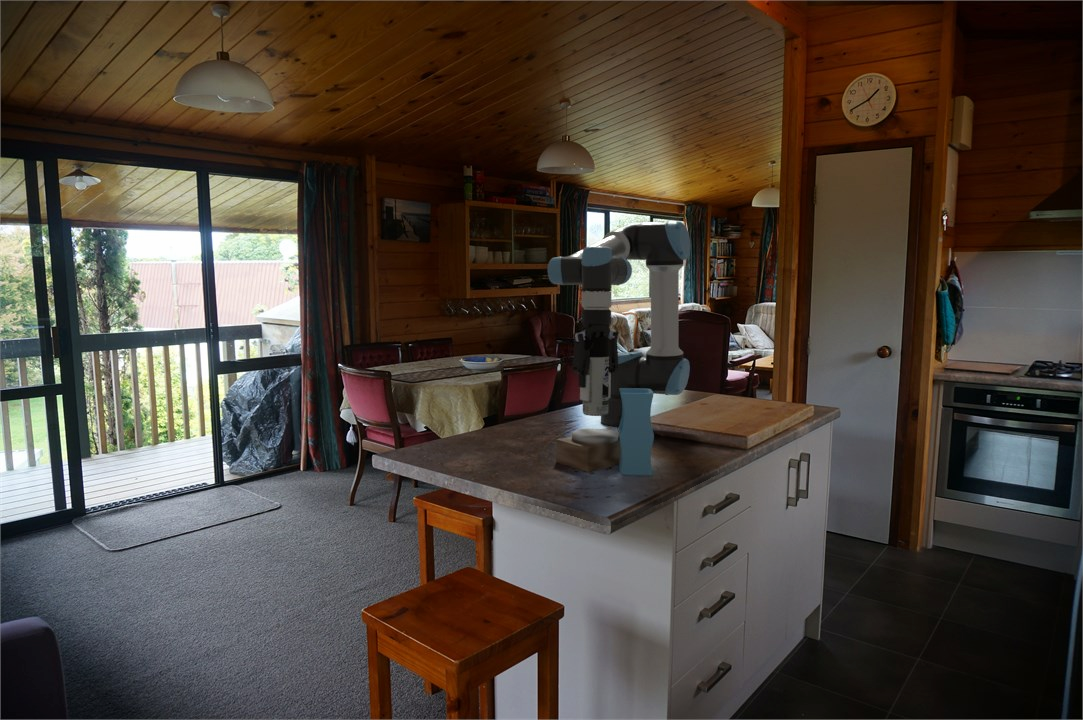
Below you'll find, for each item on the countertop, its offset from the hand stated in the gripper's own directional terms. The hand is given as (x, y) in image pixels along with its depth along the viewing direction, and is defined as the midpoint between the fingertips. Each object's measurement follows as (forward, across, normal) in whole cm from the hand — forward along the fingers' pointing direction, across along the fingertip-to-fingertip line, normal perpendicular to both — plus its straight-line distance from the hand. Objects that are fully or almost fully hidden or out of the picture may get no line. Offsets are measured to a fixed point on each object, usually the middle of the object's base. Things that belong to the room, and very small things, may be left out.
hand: (595, 398), depth 180 cm
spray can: (+4, 0, 0) cm, 4 cm away
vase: (+17, -2, +12) cm, 21 cm away
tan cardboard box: (+17, 0, 0) cm, 17 cm away
